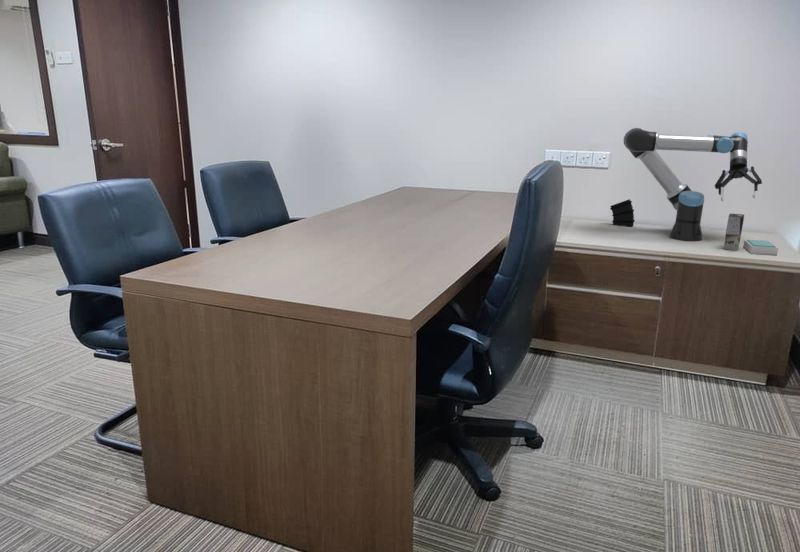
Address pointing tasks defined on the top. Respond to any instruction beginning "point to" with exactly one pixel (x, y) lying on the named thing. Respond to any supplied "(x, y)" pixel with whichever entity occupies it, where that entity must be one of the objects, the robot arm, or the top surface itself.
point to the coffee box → (733, 231)
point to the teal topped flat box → (760, 249)
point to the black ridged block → (623, 214)
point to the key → (761, 243)
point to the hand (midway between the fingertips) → (737, 198)
